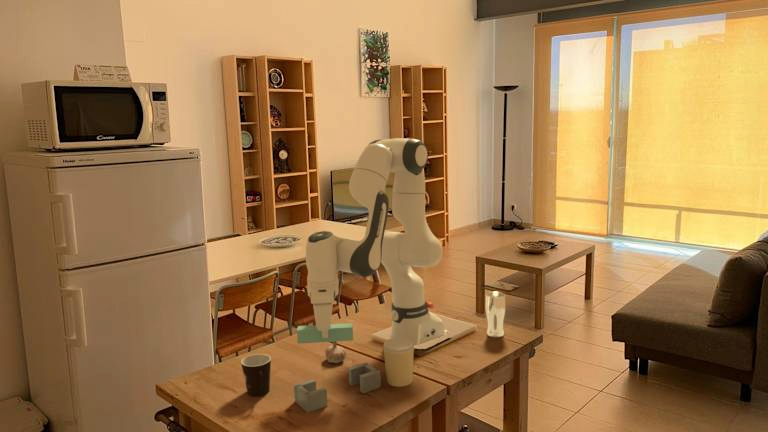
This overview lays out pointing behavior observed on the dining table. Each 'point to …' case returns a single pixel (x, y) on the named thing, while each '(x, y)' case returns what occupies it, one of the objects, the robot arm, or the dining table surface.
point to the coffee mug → (257, 374)
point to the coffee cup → (399, 361)
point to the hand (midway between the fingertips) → (325, 334)
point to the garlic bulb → (335, 353)
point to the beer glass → (495, 313)
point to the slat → (334, 334)
